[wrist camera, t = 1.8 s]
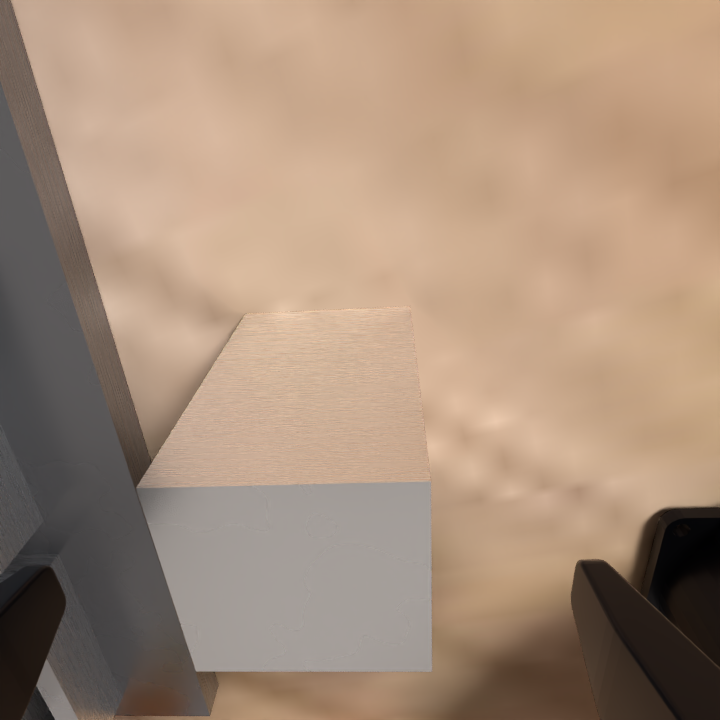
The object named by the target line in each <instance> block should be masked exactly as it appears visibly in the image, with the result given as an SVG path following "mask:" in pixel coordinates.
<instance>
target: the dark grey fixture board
mask: <svg viewBox="0 0 720 720" xmlns="http://www.w3.org/2000/svg"><path fill="white" fill-rule="evenodd" d="M150 465H151V461H150V458H149V455H148V451H147V448H146V445H145V441H144V438H143V435H142V432H141V428H140V425H139V422H138V418H137V415H136V412H135V409H134V405H133V402H132V399H131V395H130V392H129V389H128V386H127V382H126V379H125V376H124V372H123V369H122V366H121V363H120V359H119V356H118V353H117V349H116V346H115V343H114V339H113V336H112V333H111V330H110V326H109V323H108V320H107V316H106V313H105V310H104V307H103V303H102V300H101V297H100V293H99V290H98V287H97V284H96V280H95V277H94V274H93V270H92V267H91V264H90V261H89V257H88V254H87V251H86V247H85V244H84V241H83V237H82V234H81V231H80V228H79V224H78V221H77V218H76V214H75V211H74V208H73V205H72V201H71V198H70V195H69V191H68V188H67V185H66V182H65V178H64V175H63V172H62V168H61V165H60V162H59V159H58V155H57V152H56V149H55V145H54V142H53V139H52V135H51V132H50V129H49V126H48V122H47V119H46V116H45V112H44V109H43V106H42V103H41V99H40V96H39V93H38V89H37V86H36V83H35V80H34V76H33V73H32V70H31V66H30V63H29V60H28V57H27V53H26V50H25V47H24V43H23V40H22V37H21V34H20V30H19V27H18V24H17V20H16V17H15V14H14V10H13V7H12V4H11V1H10V0H0V583H1V582H2V581H4V580H5V579H7V578H8V577H9V576H11V575H12V574H14V573H15V572H17V571H18V570H20V569H21V568H23V567H25V566H29V565H48V566H50V567H51V568H53V570H54V572H55V574H56V576H57V578H58V580H59V583H60V585H61V587H62V589H63V591H64V594H65V596H66V608H65V612H64V615H63V617H62V620H61V622H60V625H59V628H58V630H57V633H56V635H55V638H54V641H53V643H52V646H51V648H50V651H49V654H48V656H47V659H46V662H45V664H44V667H43V669H42V672H41V675H40V677H39V680H38V682H37V685H36V686H37V688H38V690H39V692H40V693H41V695H42V697H43V699H44V701H45V702H46V704H47V706H48V708H49V710H48V711H47V713H46V715H45V717H44V719H43V720H113V718H114V716H210V714H211V711H212V707H213V704H214V700H215V696H216V693H217V689H218V686H219V685H218V682H217V678H216V675H215V672H208V671H196V670H195V667H194V664H193V661H192V658H191V655H190V652H189V649H188V646H187V643H186V640H185V636H184V633H183V630H182V627H181V624H180V621H179V618H178V615H177V612H176V609H175V606H174V603H173V600H172V597H171V594H170V591H169V588H168V585H167V582H166V579H165V576H164V572H163V569H162V566H161V563H160V560H159V557H158V554H157V551H156V548H155V545H154V542H153V539H152V536H151V533H150V530H149V527H148V524H147V521H146V518H145V515H144V512H143V508H142V505H141V502H140V499H139V496H138V493H137V490H136V487H137V486H138V484H139V482H140V481H141V479H142V478H143V476H144V474H145V473H146V471H147V470H148V468H149V467H150Z"/></svg>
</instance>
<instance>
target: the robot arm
mask: <svg viewBox="0 0 720 720" xmlns="http://www.w3.org/2000/svg"><path fill="white" fill-rule="evenodd" d="M678 525H679V526H678ZM571 604H572V610H573V614H574V618H575V622H576V626H577V631H578V635H579V639H580V643H581V647H582V651H583V655H584V659H585V663H586V668H587V672H588V676H589V680H590V684H591V688H592V692H593V696H594V700H595V704H596V707H597V710H598V714H599V717H600V720H720V508H691V509H674V510H670V511H668V512H666V513H665V514H664V515H662V516H661V518H660V520H659V522H658V526H657V530H656V534H655V538H654V542H653V546H652V550H651V554H650V558H649V562H648V566H647V570H646V573H645V577H644V581H643V585H642V589H641V593H639V592H638V591H637V590H636V589H635V588H634V587H633V586H632V585H631V584H630V583H629V582H627V581H626V580H625V579H624V578H623V577H622V576H621V575H620V574H619V573H618V572H617V571H616V570H615V569H614V568H613V567H611V566H610V565H609V564H608V563H607V562H605V561H604V560H599V559H591V560H579V561H578V562H577V564H576V567H575V573H574V579H573V585H572V591H571ZM65 608H66V596H65V594H64V591H63V589H62V587H61V585H60V583H59V580H58V578H57V576H56V574H55V572H54V570H53V568H51V567H50V566H48V565H29V566H25V567H23V568H21V569H20V570H18V571H17V572H15V573H14V574H12V575H11V576H9V577H8V578H7V579H5V580H4V581H2V582H1V583H0V720H21V719H22V717H23V715H24V713H25V711H26V709H27V706H28V704H29V702H30V700H31V697H32V695H33V692H34V690H35V688H36V685H37V682H38V680H39V677H40V675H41V672H42V669H43V667H44V664H45V662H46V659H47V656H48V654H49V651H50V648H51V646H52V643H53V641H54V638H55V635H56V633H57V630H58V628H59V625H60V622H61V620H62V617H63V615H64V612H65Z"/></svg>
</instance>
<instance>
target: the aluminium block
mask: <svg viewBox="0 0 720 720" xmlns="http://www.w3.org/2000/svg"><path fill="white" fill-rule="evenodd" d="M136 490H137V493H138V496H139V499H140V502H141V505H142V508H143V512H144V515H145V518H146V521H147V524H148V527H149V530H150V533H151V536H152V539H153V542H154V545H155V548H156V551H157V554H158V557H159V560H160V563H161V566H162V569H163V572H164V576H165V579H166V582H167V585H168V588H169V591H170V594H171V597H172V600H173V603H174V606H175V609H176V612H177V615H178V618H179V621H180V624H181V627H182V630H183V633H184V636H185V640H186V643H187V646H188V649H189V652H190V655H191V658H192V661H193V664H194V667H195V670H196V671H208V672H432V572H431V477H430V469H429V460H428V452H427V443H426V435H425V426H424V418H423V409H422V401H421V392H420V384H419V375H418V367H417V358H416V350H415V341H414V333H413V324H412V316H411V307H410V306H400V307H378V308H356V309H334V310H312V311H290V312H268V313H246V314H245V315H244V317H243V318H242V320H241V322H240V323H239V325H238V326H237V328H236V330H235V331H234V333H233V334H232V336H231V337H230V339H229V341H228V342H227V344H226V345H225V347H224V349H223V350H222V352H221V353H220V355H219V357H218V358H217V360H216V361H215V363H214V365H213V366H212V368H211V369H210V371H209V373H208V374H207V376H206V377H205V379H204V380H203V382H202V384H201V385H200V387H199V388H198V390H197V392H196V393H195V395H194V396H193V398H192V400H191V401H190V403H189V404H188V406H187V408H186V409H185V411H184V412H183V414H182V416H181V417H180V419H179V420H178V422H177V424H176V425H175V427H174V428H173V430H172V431H171V433H170V435H169V436H168V438H167V439H166V441H165V443H164V444H163V446H162V447H161V449H160V451H159V452H158V454H157V455H156V457H155V459H154V460H153V462H152V463H151V465H150V467H149V468H148V470H147V471H146V473H145V474H144V476H143V478H142V479H141V481H140V482H139V484H138V486H137V487H136Z"/></svg>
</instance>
